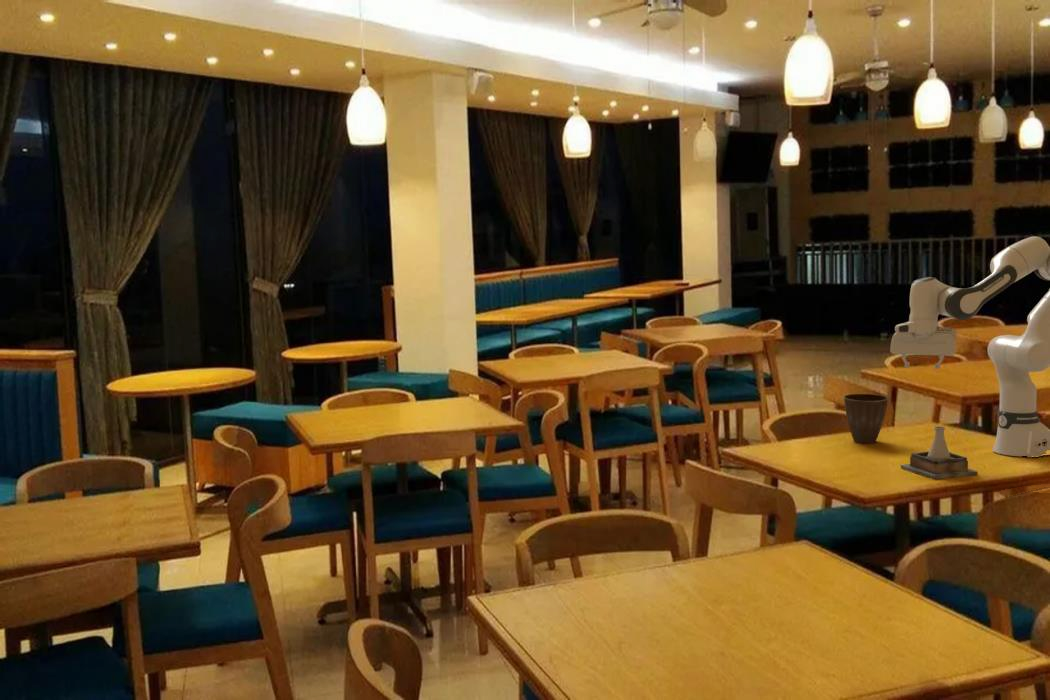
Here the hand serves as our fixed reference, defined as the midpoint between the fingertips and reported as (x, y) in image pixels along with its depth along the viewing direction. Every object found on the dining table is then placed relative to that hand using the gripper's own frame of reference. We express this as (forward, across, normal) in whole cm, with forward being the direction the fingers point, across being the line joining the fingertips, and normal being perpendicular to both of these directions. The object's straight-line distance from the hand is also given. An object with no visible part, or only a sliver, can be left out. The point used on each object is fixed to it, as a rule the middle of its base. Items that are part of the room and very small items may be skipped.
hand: (922, 368), depth 350 cm
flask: (+25, -7, +23) cm, 35 cm away
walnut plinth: (+29, -6, +23) cm, 38 cm away
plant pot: (+29, +19, -15) cm, 38 cm away
